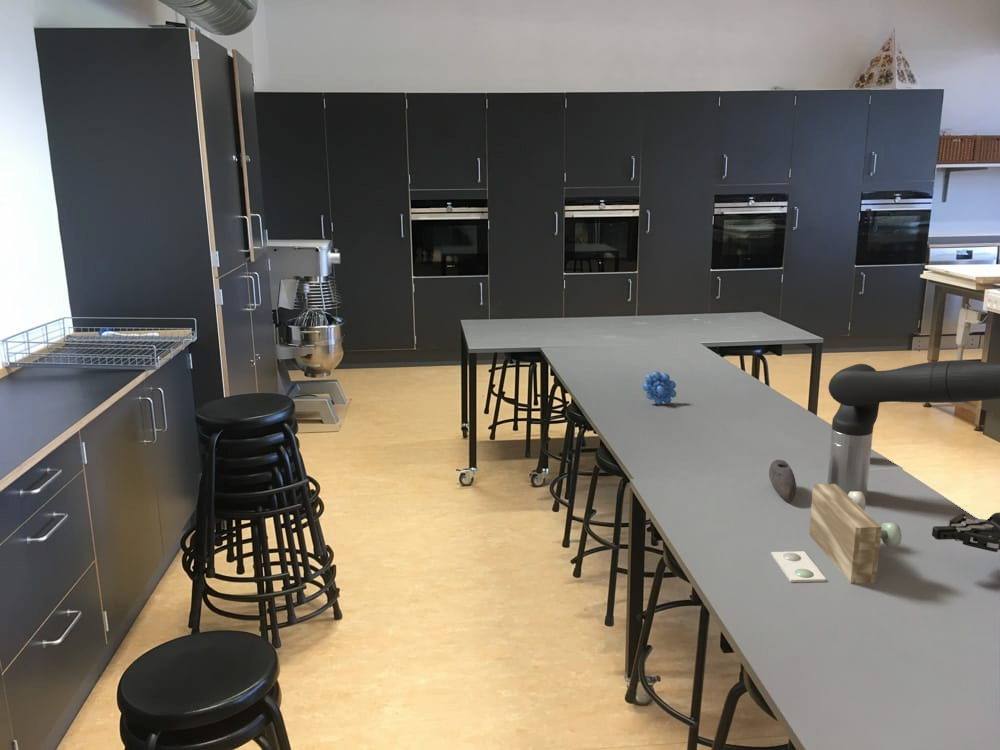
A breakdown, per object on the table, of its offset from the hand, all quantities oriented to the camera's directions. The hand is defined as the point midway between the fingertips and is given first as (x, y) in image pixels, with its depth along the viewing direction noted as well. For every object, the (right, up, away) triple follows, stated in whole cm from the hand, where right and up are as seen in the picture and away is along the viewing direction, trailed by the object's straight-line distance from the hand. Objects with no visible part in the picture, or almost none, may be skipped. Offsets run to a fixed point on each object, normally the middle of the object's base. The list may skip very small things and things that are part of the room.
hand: (934, 533), depth 160 cm
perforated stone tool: (-15, +1, +43) cm, 45 cm away
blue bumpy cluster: (-31, +21, +119) cm, 125 cm away
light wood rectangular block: (-14, -7, +10) cm, 19 cm away
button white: (-10, +2, +16) cm, 19 cm away
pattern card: (-25, -8, +6) cm, 27 cm away
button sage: (-10, -2, +1) cm, 11 cm away
